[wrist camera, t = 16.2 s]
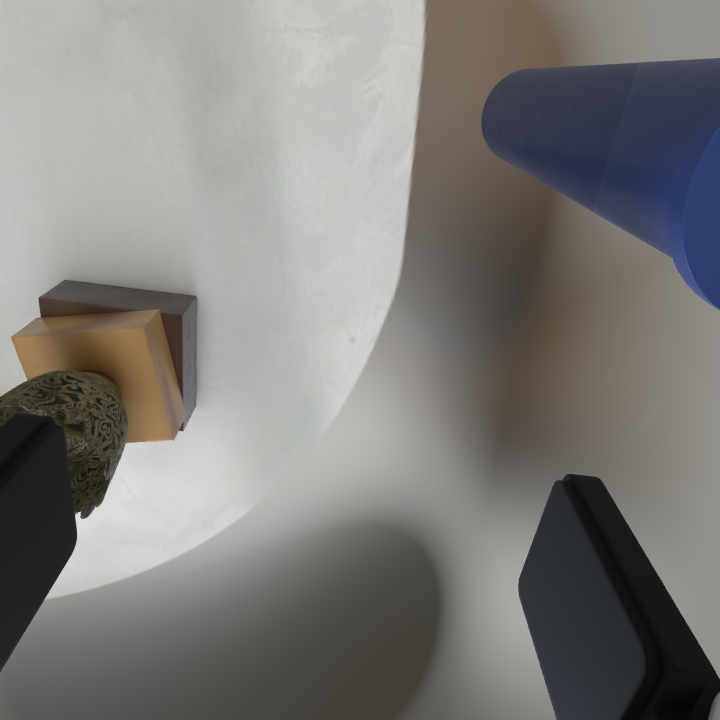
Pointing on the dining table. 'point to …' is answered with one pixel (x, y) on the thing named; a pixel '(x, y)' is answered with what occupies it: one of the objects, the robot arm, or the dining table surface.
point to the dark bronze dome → (78, 425)
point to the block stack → (121, 349)
